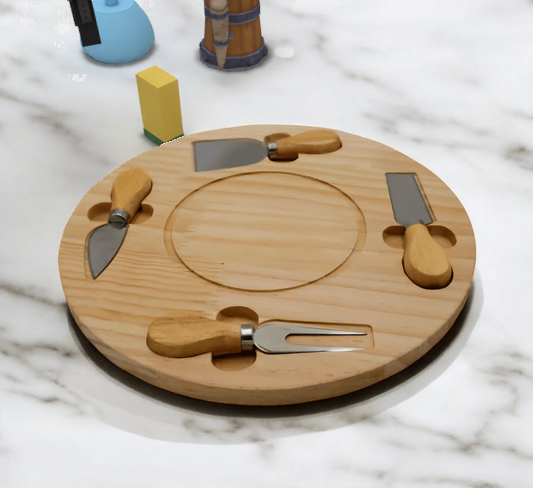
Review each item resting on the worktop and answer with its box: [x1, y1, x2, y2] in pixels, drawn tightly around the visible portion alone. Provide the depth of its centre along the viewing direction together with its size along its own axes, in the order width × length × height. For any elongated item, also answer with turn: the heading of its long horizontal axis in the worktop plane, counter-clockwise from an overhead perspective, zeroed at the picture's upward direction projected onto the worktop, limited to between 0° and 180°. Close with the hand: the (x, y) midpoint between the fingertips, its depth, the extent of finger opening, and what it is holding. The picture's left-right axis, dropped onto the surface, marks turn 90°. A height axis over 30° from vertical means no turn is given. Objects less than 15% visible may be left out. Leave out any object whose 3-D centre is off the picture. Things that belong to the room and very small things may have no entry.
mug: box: [198, 0, 269, 73], centre depth 125 cm, size 19×14×20 cm
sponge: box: [134, 64, 185, 146], centre depth 109 cm, size 6×4×12 cm
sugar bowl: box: [79, 0, 156, 65], centre depth 131 cm, size 15×15×12 cm
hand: (87, 34), depth 100 cm, fingers open, 13 cm apart
